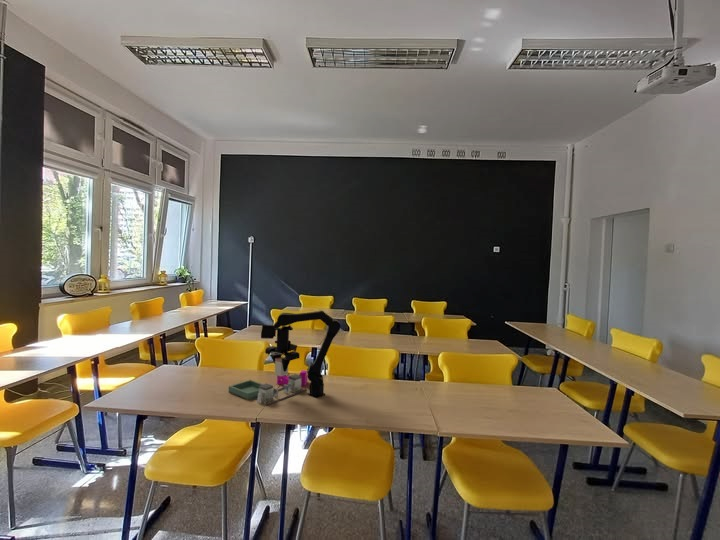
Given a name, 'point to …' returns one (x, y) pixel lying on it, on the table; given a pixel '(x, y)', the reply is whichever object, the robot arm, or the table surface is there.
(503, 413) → the table surface
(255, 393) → the tray
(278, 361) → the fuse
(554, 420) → the table surface
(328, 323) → the robot arm
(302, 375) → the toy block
